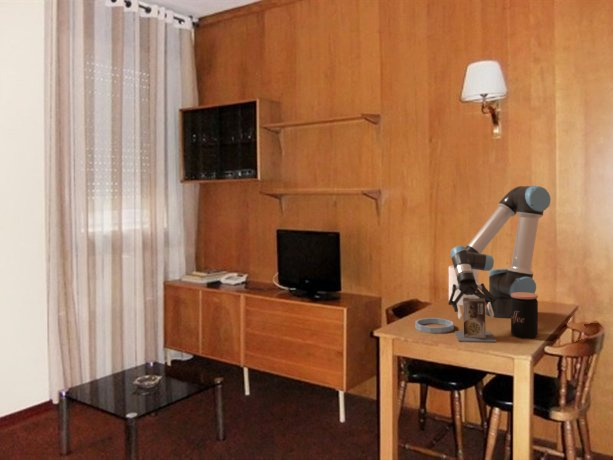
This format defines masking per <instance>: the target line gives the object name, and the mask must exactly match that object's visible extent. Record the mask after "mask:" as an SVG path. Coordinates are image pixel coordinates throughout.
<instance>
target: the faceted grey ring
mask: <svg viewBox="0 0 613 460" xmlns="http://www.w3.org/2000/svg"><path fill="white" fill-rule="evenodd" d="M430 324H432V325H443V326H427V325H430ZM454 325H455V324H454V322H453V321H452V320H449V319H446V318H439V317H424V318H419V319H417V320H415V321H414V326H415V329H416V330H417V331H419V332H422V333H429V334H444V333H445V334H447V333H450V332H452V331H455V330H454V329H455V328H454V327H455V326H454Z"/></svg>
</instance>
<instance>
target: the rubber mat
mask: <svg viewBox="0 0 613 460" xmlns="http://www.w3.org/2000/svg"><path fill="white" fill-rule="evenodd" d="M454 334H455V336H456V338H457V341H458V342H459V343H497V340H496V338H495V337H494V335H493V334H492V333H491V331H486V338H470V337H464V330H460V331H459V330H454Z"/></svg>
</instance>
